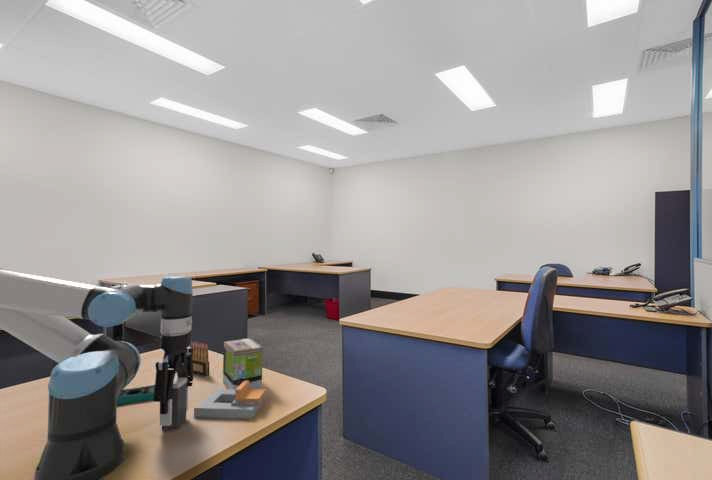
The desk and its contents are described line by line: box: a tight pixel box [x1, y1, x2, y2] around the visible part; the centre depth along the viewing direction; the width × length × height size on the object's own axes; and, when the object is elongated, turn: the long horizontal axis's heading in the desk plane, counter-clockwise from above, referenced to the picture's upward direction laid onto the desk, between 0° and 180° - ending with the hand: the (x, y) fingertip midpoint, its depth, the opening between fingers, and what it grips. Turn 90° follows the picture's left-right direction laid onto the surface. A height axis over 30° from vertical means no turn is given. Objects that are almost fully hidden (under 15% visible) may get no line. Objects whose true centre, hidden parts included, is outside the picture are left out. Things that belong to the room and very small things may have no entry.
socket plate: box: [193, 388, 268, 420], centre depth 99 cm, size 13×17×3 cm
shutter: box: [235, 380, 267, 404], centre depth 99 cm, size 7×7×4 cm
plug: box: [161, 376, 187, 430], centre depth 89 cm, size 4×4×12 cm
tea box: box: [222, 337, 264, 389], centre depth 115 cm, size 15×10×15 cm, turn 35°
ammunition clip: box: [189, 340, 210, 377], centre depth 127 cm, size 11×2×12 cm, turn 63°
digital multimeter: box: [117, 384, 155, 406], centre depth 105 cm, size 7×15×3 cm, turn 115°
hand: (174, 417), depth 89 cm, fingers open, 7 cm apart
